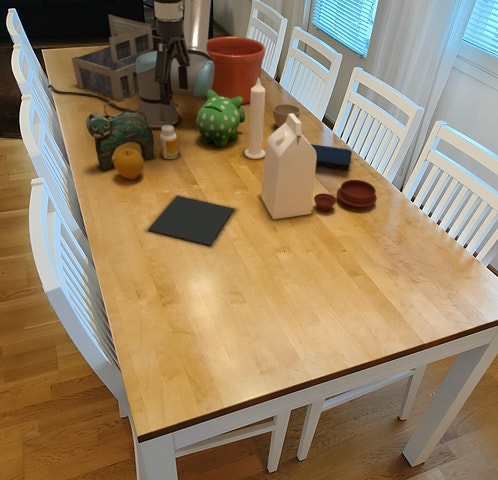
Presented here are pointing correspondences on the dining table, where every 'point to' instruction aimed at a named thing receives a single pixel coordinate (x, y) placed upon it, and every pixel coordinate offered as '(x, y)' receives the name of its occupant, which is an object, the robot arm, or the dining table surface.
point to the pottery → (349, 195)
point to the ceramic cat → (119, 134)
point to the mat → (192, 220)
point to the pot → (235, 65)
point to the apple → (129, 163)
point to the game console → (332, 157)
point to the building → (115, 60)
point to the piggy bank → (220, 118)
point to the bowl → (284, 113)
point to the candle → (256, 122)
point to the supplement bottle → (168, 142)
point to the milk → (288, 171)
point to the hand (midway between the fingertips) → (175, 96)
